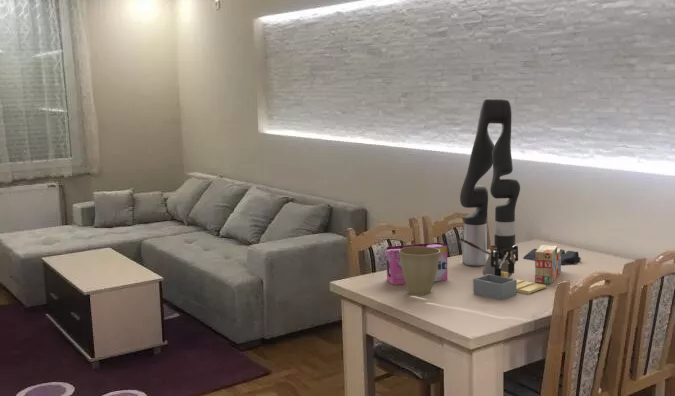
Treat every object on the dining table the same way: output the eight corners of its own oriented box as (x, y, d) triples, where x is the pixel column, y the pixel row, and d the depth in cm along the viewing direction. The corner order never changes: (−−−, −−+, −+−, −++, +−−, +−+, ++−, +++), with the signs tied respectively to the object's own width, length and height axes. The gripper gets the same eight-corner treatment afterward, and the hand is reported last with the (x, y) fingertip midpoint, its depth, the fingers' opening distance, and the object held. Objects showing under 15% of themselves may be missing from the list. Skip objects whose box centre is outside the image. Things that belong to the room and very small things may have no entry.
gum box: (389, 285, 272) (388, 250, 270) (383, 280, 279) (382, 246, 278) (448, 280, 278) (447, 245, 276) (440, 275, 285) (440, 241, 283)
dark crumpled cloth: (538, 253, 319) (538, 243, 319) (584, 260, 304) (584, 249, 303) (519, 259, 309) (519, 249, 308) (567, 267, 293) (567, 256, 293)
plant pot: (430, 301, 250) (429, 256, 248) (392, 295, 258) (391, 252, 256) (447, 290, 263) (446, 248, 260) (410, 285, 270) (410, 244, 268)
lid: (488, 287, 265) (488, 273, 264) (505, 281, 273) (505, 268, 272) (529, 296, 253) (529, 281, 252) (545, 289, 260) (545, 275, 259)
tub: (473, 295, 256) (473, 278, 255) (488, 290, 262) (488, 274, 261) (501, 301, 247) (501, 284, 246) (516, 296, 253) (516, 279, 252)
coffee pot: (516, 277, 278) (516, 239, 276) (507, 284, 268) (507, 245, 266) (464, 271, 289) (464, 235, 287) (453, 278, 279) (453, 240, 277)
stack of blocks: (545, 269, 289) (545, 240, 287) (561, 271, 286) (561, 241, 284) (534, 283, 270) (535, 251, 268) (551, 284, 267) (552, 252, 265)
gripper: (507, 228, 271) (506, 270, 273) (484, 234, 261) (484, 277, 264) (524, 231, 266) (524, 273, 268) (502, 237, 256) (502, 281, 258)
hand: (504, 275), depth 266 cm, fingers open, 8 cm apart
